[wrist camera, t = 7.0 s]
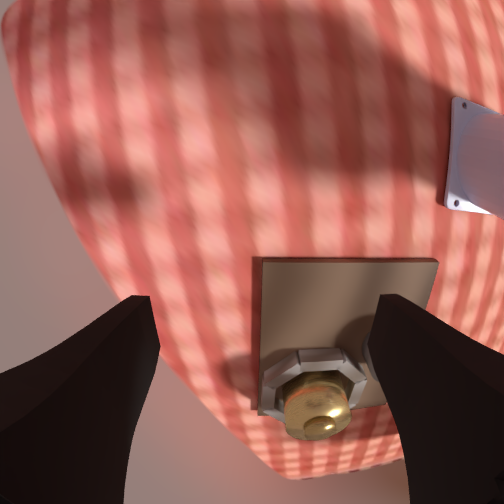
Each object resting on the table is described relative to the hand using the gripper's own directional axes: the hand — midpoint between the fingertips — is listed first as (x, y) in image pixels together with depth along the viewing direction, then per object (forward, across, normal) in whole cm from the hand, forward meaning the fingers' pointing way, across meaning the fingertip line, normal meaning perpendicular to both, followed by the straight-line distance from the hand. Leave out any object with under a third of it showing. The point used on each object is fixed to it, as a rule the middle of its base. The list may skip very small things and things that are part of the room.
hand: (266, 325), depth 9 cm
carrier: (+10, -7, +10) cm, 16 cm away
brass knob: (+9, -4, +14) cm, 17 cm away
